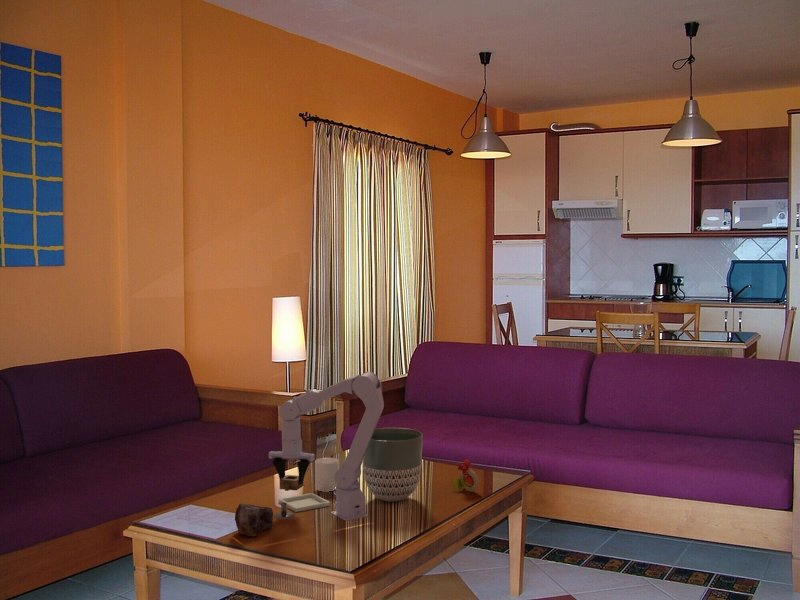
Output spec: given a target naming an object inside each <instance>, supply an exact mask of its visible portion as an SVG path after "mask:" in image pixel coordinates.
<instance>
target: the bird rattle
mask: <svg viewBox="0 0 800 600" xmlns="http://www.w3.org/2000/svg"><path fill="white" fill-rule="evenodd" d="M455 465H456V466H458V467H457V469H458V471H460V475H459V478H458V477H455V478H453V480H452V483H453V487H452V488H453V490H456V489H457V492H462V490H464V489H466V490H467V491H469V492H471V493H475V492H476V489H477V488H478V486H479V481H480V480H479V477H478V475H477V474H476V472H475V471H473V470H472V469H470V467H471V465H472V462H471V461H470V460H469V458H465V459H464V460H463V462H461V463H455Z"/></svg>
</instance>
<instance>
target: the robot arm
mask: <svg viewBox="0 0 800 600" xmlns="http://www.w3.org/2000/svg"><path fill="white" fill-rule="evenodd" d="M382 389H383V388H382V382H381V380H380V379H379V377H378V375H377V374H376V373H374V372H372V371H365V372H363V373H362V374H359V373H358V374H356V375H353V376H350V377H347V378H345V379H343V380H340V381H338V382H336V383H335V384H333V385H331V386H328V387H326V388H324V389H321V390H316V389H311V388H309V389H306V390H305V392H304V393H302V394H300V395H299V396H296V395H295V396H293V397H292V398H291V399H289V400H287V401H284V403H282V404H281V405H280V406H279V409H278V414H279V416H280V418H281V450H277V451H276V450H271V451H269V452H268V460H269V459H270V460H271V459H273V461H272V465H273V466H274V467H275V469H276V473H277V475H278V479H281V478H283V477H284V476H286V464H287V463H286V462H287V460H290V461H291V460H292V461H293V460H294V461H297V462H296V465H297V471H298V476H299V484H302V483H304V481H305V476H306V473H307V470H308V468H309V465H310V464H311V462H313V461H314V462H315V460H316V457H315V455H316V454H315V453H310V452H309V453H308V452H304V451H302V444H301V443H302V440H301V439H302V437H301V430H302V429H301V416H302V415H305V414H307V413H310V412H312V411H314V410H317V409H319V408H321V407H322V406H323V403H324V402H325V401H326V400H329V399H331V398H333V397H336V396H338V395H340V394H344V393H347V394H351V395H352V394H355V395H356V396H357V397H358V398H359V399H360V400H361V401H362V403H363V404H364V406H365V410H364V413H363V416H362V418H361V421H360V423H359V426H358V427H357V430H356V431H355V435H354V437H353V439H352V442H351V445H350V448H349V450H348V452H347V455H346V456H345V458H344V460H343V462H342V464H341V466H340V468H338V470H337V471H336V473H335V475H334V480H335V483H336V491H335V494H336V495H335V496H336V497H335V498H336V499H335V501H336V502H335V506H336V508H335V510H334V511H331V512H330V514H332V515H333V516H335V517H337V518H339V519H341V520H344V521H352V520H358V519H362V518H369V515H368V514H367V512H366V509H367V508H366V506H367V505H366V504H367V503H366V500H367V499H366V495H365V493H364V492H363V491H362V490H361V485H360V484H361V483H360V481H359V478H360V477H361V475H362V465H363V457H364V454H365V452H366V449H367V447H368V444H369V442H370V440H371V437H372V435H373V432H374V430H375V429H376V427H377V425H378V423H379V420H380V418H381V415H382V412H383V410H384V407H385V402H384V397H383V390H382ZM304 484H305V483H304Z"/></svg>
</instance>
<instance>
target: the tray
mask: <svg viewBox="0 0 800 600" xmlns="http://www.w3.org/2000/svg"><path fill="white" fill-rule="evenodd" d="M283 502H286V507H287V508H288V509H290V511H293V512H294V513H299V512H305V511H310V510H314V509H320V508H324V507H329V506H331V502H330V501H329V500H327V499H324V498H323V497H321V496H319V495H317V494H315V493H314V492H311V493H304V494H300V495H294V496H288V497H283V498H279V499H278V503H279V504H281V503H283Z"/></svg>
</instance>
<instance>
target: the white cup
mask: <svg viewBox="0 0 800 600" xmlns="http://www.w3.org/2000/svg"><path fill="white" fill-rule="evenodd" d="M339 460H340V459H338V458H336V457H320V458H316V459H315V460H314V463H315V479H316V489H317V491H319V492H320V491H322V492H321V493H330V492H329V491H333V489H334V488H335V487H336V483H335V480H334V475H335V473H336V471H337V470H338V469H339ZM333 492H334V491H333Z"/></svg>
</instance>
